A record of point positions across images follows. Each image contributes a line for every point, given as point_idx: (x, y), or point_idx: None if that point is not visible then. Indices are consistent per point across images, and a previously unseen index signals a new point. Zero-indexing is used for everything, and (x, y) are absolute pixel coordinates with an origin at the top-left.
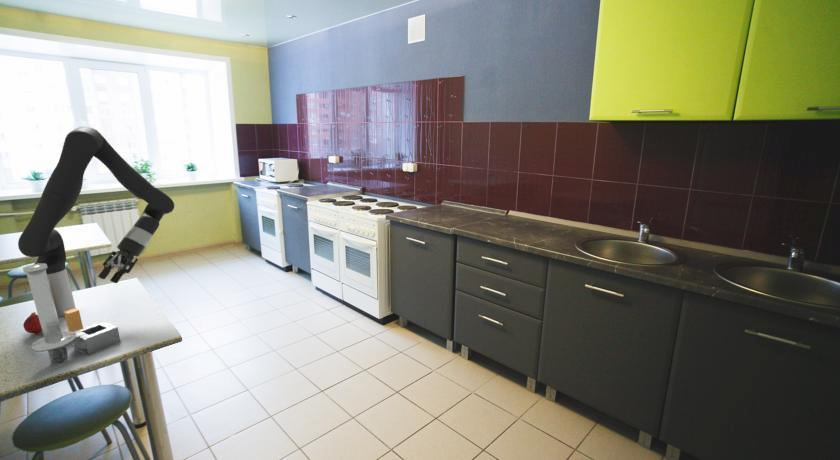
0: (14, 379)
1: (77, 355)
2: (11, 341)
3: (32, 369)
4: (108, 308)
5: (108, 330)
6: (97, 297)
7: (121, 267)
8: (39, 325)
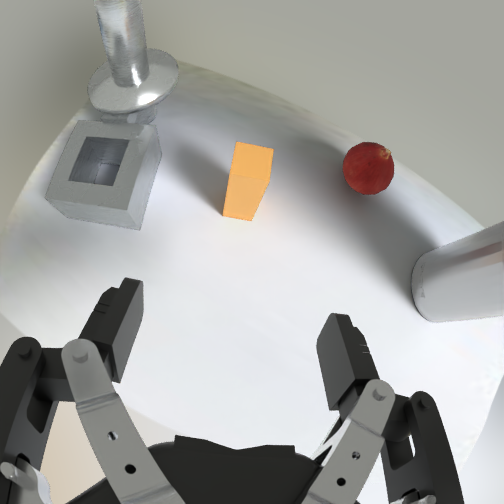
0: None
1: None
2: None
3: None
4: None
5: (54, 174)
6: (447, 393)
7: (71, 388)
8: (346, 161)
